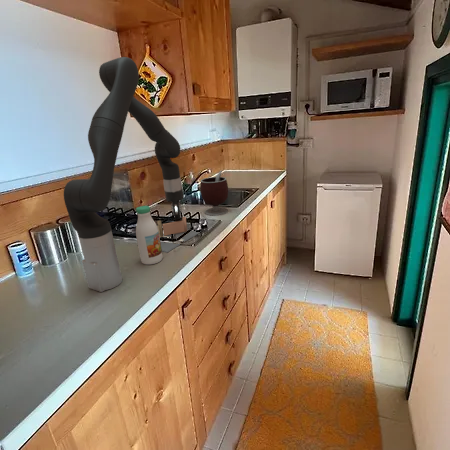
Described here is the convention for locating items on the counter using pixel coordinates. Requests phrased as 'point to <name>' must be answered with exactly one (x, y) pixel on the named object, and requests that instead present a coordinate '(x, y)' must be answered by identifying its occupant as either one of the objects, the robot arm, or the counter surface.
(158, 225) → the fence fixed
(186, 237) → the card
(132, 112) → the robot arm
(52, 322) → the counter surface
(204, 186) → the mate gourd
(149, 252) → the milk bottle
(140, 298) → the counter surface
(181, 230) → the fence gate
